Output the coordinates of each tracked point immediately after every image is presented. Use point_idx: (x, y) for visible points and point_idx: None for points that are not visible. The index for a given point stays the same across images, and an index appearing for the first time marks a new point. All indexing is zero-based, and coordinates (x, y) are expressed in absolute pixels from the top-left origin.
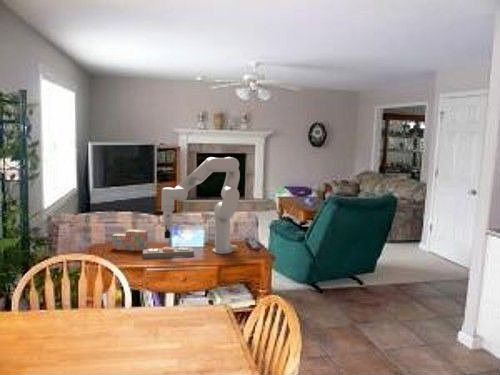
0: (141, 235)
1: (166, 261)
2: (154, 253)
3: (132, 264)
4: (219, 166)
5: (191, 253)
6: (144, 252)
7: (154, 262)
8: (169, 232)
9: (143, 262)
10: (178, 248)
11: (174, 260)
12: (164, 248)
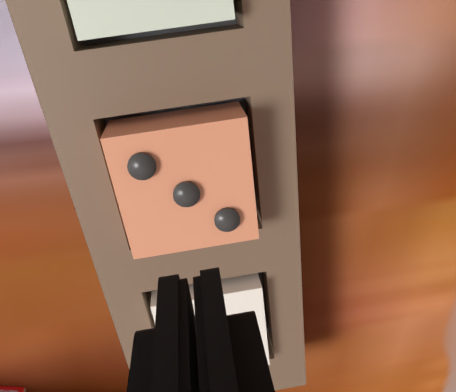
0: None
1: (439, 144)
2: (301, 299)
3: (443, 372)
4: None
5: None
6: None
7: (439, 245)
8: (237, 383)
9: (413, 321)
10: (137, 32)
11: (425, 58)
12: (209, 237)
